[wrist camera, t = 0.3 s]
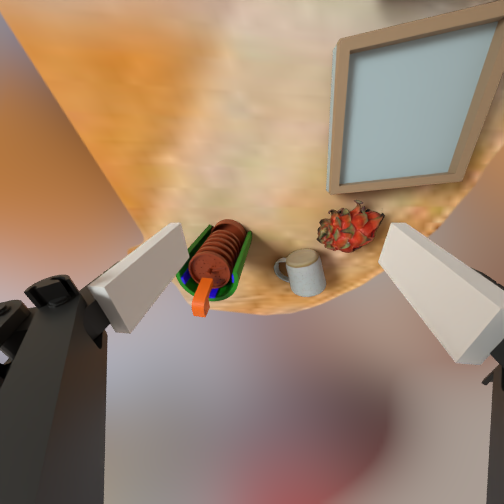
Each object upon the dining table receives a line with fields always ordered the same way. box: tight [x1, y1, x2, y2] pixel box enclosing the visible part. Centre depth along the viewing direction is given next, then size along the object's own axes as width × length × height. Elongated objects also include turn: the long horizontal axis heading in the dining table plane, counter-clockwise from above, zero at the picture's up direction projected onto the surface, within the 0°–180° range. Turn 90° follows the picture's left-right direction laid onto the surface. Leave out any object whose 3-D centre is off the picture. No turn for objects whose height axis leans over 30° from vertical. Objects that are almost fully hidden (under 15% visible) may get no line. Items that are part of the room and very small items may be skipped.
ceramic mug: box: [274, 249, 326, 297], centre depth 42 cm, size 11×8×8 cm
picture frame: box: [326, 0, 504, 195], centre depth 27 cm, size 18×18×6 cm
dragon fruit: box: [316, 200, 385, 253], centre depth 36 cm, size 8×8×12 cm
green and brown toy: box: [176, 219, 252, 317], centre depth 35 cm, size 10×9×20 cm
